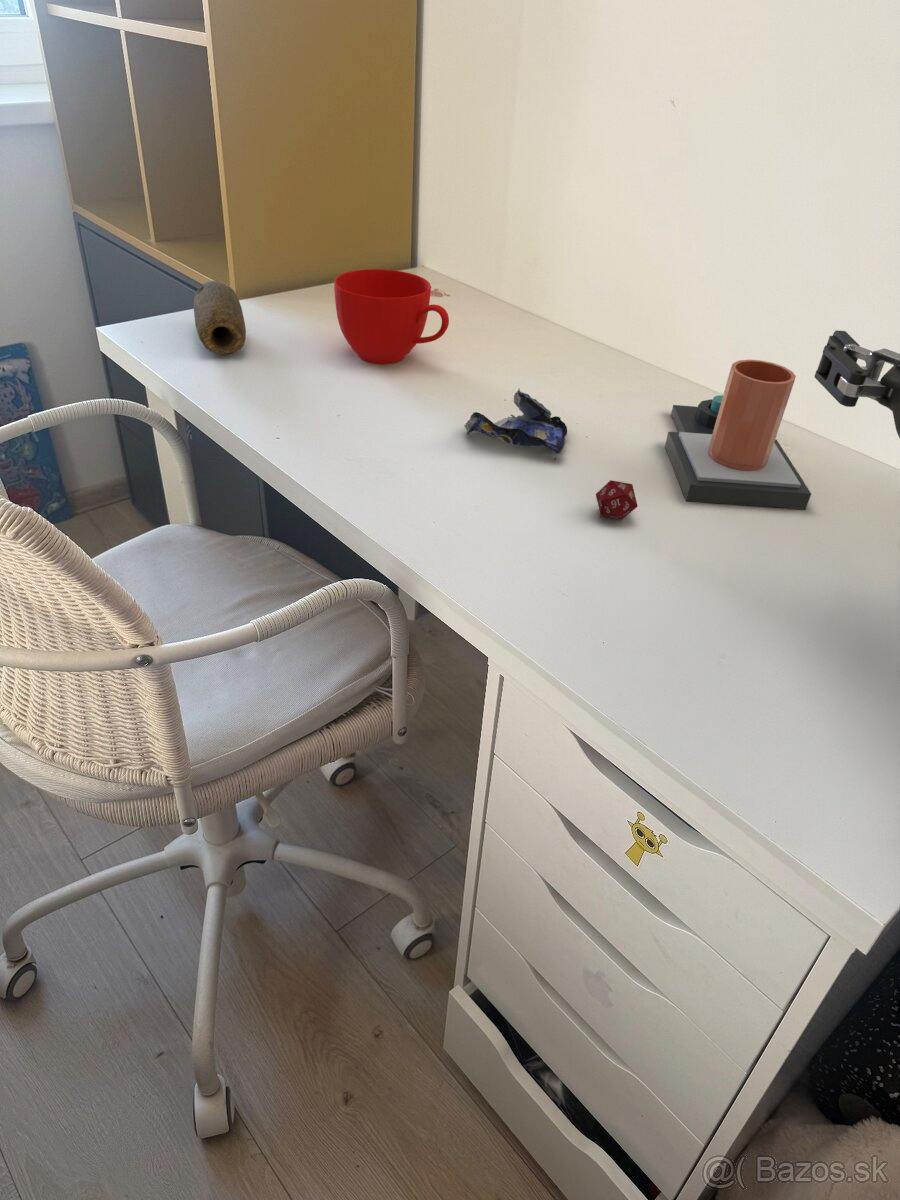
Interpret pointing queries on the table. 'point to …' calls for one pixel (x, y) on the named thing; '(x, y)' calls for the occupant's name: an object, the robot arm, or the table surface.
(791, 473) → the scale
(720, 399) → the button
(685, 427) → the pad
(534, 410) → the snack package
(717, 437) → the cup
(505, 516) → the table surface
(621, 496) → the dice
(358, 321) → the ceramic cup
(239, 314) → the stone weight
